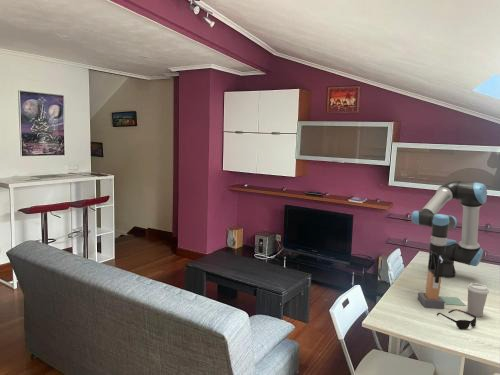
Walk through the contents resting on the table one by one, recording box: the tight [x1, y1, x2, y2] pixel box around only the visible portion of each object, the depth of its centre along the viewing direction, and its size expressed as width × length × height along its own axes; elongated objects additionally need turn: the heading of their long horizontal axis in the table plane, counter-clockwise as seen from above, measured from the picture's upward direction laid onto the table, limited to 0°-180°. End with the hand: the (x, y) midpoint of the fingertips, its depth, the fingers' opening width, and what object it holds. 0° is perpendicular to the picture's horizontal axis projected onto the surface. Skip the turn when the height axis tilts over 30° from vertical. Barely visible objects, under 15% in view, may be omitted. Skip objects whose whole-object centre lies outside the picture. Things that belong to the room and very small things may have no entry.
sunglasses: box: [436, 308, 477, 330], centre depth 183 cm, size 14×16×5 cm
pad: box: [439, 295, 467, 307], centre depth 206 cm, size 10×10×1 cm
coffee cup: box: [466, 282, 490, 318], centre depth 191 cm, size 10×10×15 cm
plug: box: [424, 268, 442, 300], centre depth 199 cm, size 5×5×15 cm
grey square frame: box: [417, 292, 446, 310], centre depth 201 cm, size 10×10×4 cm
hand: (433, 285), depth 199 cm, fingers closed on plug, 5 cm apart
